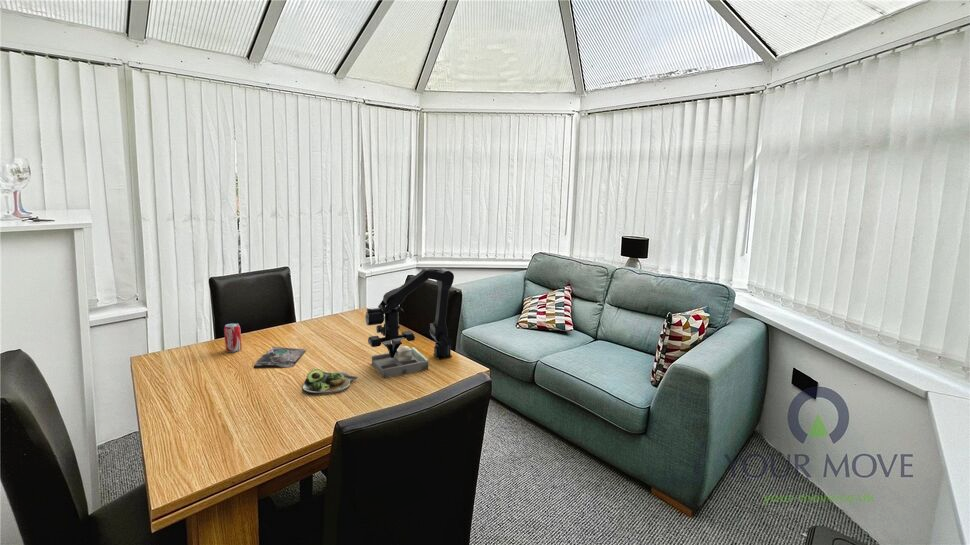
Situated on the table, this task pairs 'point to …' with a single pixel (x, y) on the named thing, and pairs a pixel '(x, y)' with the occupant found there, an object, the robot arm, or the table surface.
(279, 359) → the terrain model
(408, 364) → the box
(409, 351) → the cream block
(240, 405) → the table surface
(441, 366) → the table surface
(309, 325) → the table surface
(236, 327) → the soda can
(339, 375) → the salad plate
